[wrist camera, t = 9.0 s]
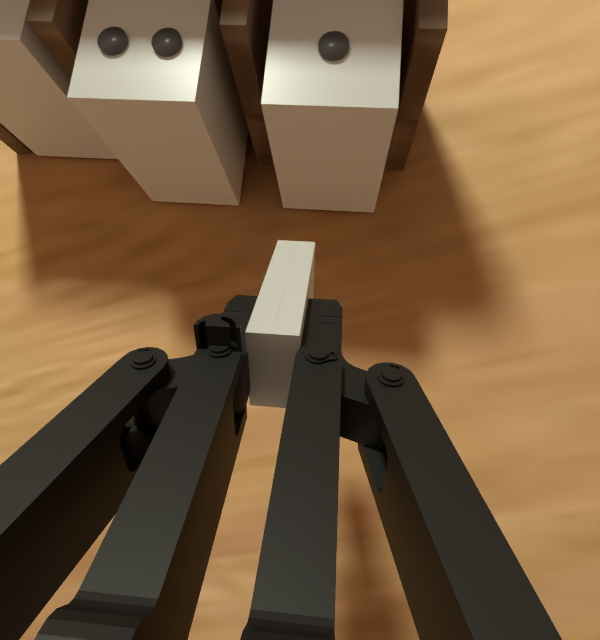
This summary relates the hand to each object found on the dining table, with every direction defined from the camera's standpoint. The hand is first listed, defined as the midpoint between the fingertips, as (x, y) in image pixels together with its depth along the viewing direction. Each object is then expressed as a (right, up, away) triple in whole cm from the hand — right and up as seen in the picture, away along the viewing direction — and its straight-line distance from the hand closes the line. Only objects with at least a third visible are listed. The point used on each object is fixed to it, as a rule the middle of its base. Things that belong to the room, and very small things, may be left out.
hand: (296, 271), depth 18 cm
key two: (-7, +9, +12) cm, 16 cm away
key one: (+2, +8, +11) cm, 14 cm away
